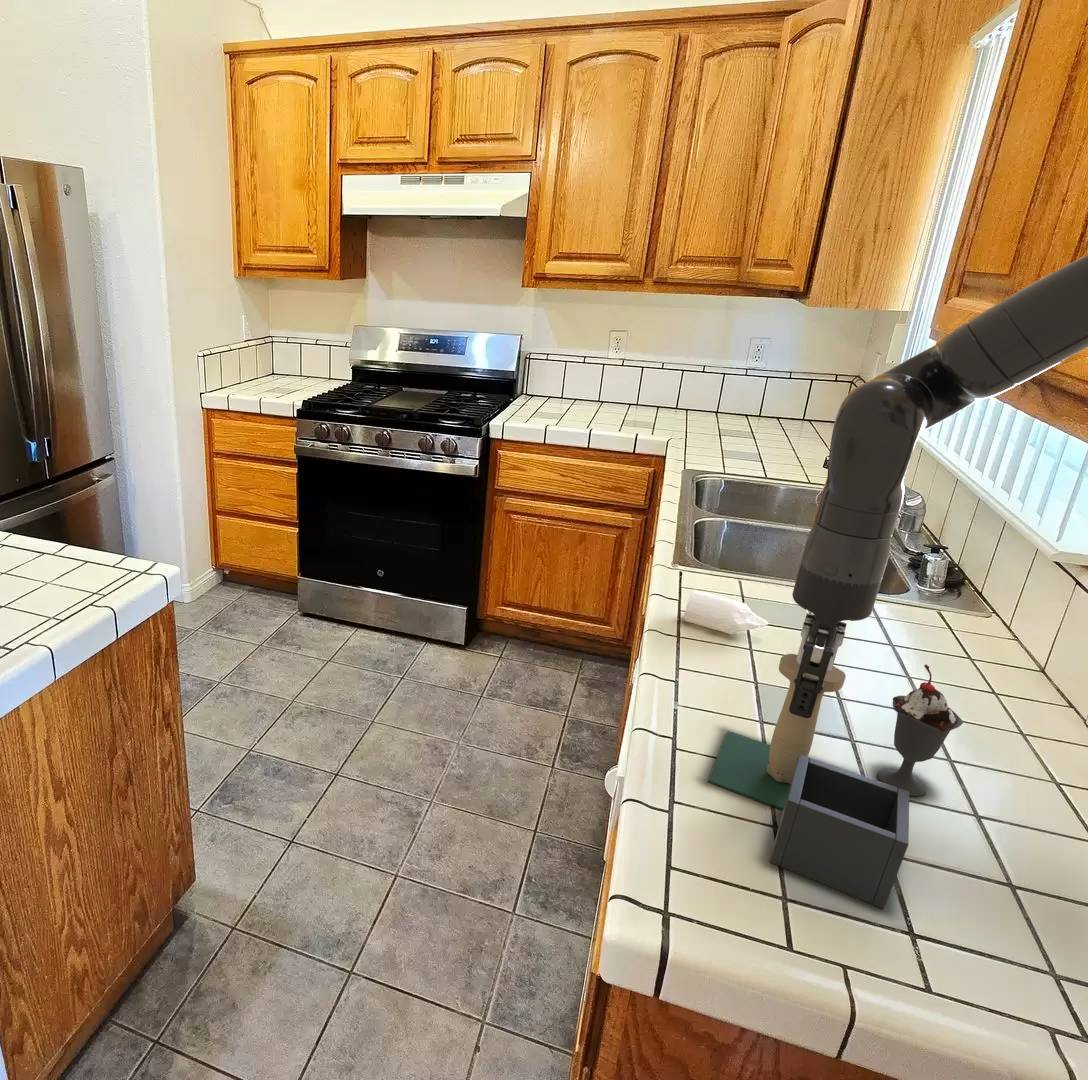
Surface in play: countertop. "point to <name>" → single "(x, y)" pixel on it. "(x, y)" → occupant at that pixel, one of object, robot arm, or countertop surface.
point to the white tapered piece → (720, 613)
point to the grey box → (843, 830)
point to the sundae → (918, 734)
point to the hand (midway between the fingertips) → (802, 702)
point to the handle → (796, 722)
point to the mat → (747, 770)
